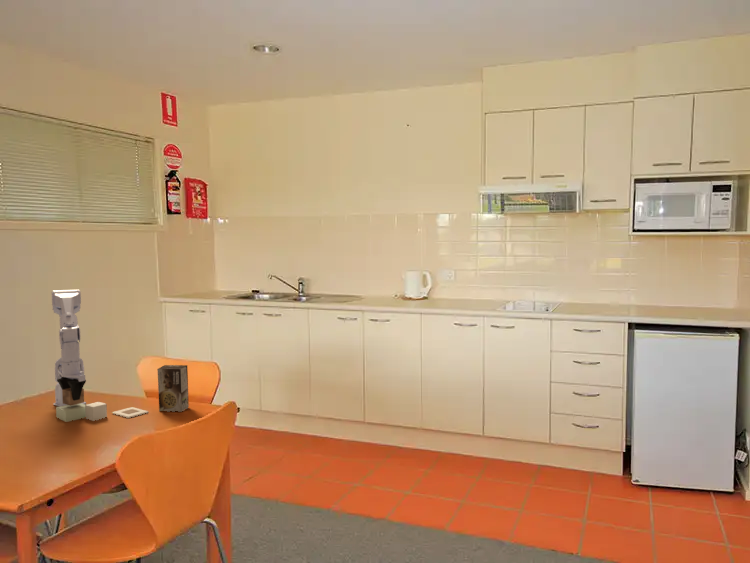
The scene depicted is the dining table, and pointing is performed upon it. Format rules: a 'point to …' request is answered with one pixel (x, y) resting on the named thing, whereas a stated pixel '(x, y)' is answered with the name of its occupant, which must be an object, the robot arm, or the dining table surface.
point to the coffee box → (173, 388)
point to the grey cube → (96, 411)
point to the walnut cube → (68, 397)
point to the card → (130, 412)
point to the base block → (70, 412)
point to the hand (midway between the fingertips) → (72, 398)
